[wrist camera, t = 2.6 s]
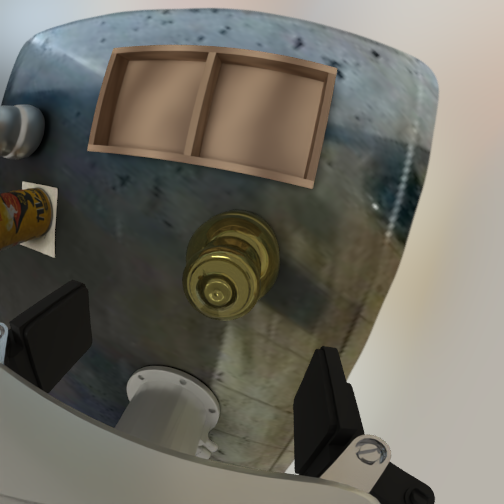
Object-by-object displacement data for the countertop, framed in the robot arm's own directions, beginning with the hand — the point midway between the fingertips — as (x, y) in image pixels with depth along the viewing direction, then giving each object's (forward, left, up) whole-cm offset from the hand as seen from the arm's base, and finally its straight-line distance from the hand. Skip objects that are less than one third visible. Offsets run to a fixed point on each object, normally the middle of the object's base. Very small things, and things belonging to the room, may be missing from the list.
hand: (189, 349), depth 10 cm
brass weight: (0, 0, -17) cm, 17 cm away
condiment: (+17, +19, -17) cm, 31 cm away
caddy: (+12, -5, -16) cm, 21 cm away
